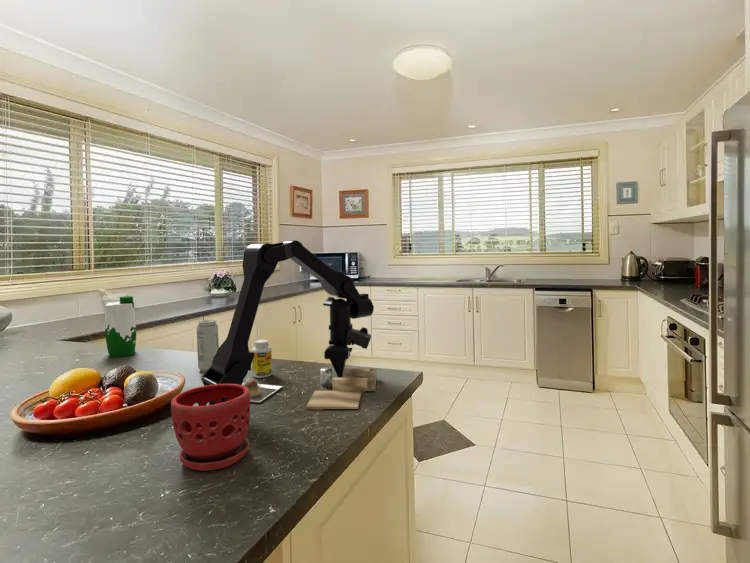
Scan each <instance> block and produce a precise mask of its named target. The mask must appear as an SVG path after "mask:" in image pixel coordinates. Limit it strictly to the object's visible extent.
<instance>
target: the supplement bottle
mask: <svg viewBox="0 0 750 563" xmlns="http://www.w3.org/2000/svg"><path fill="white" fill-rule="evenodd" d="M253 342H254V347H252V348H251V352H253V353H255V355H254V358H253V361H252V363H251V374H252V375H251V376H252V377H254V378H259V379H261V378H269V377H270V376H271V375H272V374H273V363H272V362H273V361H272V360H273V359H272V358H273V357H272V355H273V354H272V347H271V346H269V345H270V344H269V340H268V339H257V340H254V341H253Z"/></svg>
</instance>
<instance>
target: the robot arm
mask: <svg viewBox="0 0 750 563" xmlns="http://www.w3.org/2000/svg"><path fill="white" fill-rule="evenodd" d="M289 259H290V260H292V261H293V262H294V263H295V264H297V265H298V266H300V267H301V268H302V269H303V270H304V271H305V272H307V273H308V274H309V275H311V276H313V277H314V278H315V279H317V281H318V282H319V283H320V285H321V288H322V289H323V290H324V291H325V292H326V293H327V294H328V295H330V296H328V297H327V299H326V300H325V301H324V302H322V306H324V307H325V306H327V307H329V325H328V330H329V340H328V346H327V347H326V349H325V350H324V352H323V353H324V355H323V356H324V359H325V360H329V361H330V363H331V365H332V367H333V369H334V371H335V373H336V377H337V376H338V377H342V376H343V370H344V368H345V367H346V362H347V360H348V359H349V358H350V357H351V352H352V351H353V347H349V346H354V345H356V346H359V347H361V348H362V349H365V350H367V349H368V347H369V344H370V341H371V339H372V335H371V334H370V333H369V332H368V331H369V330H368V328H367V327H364V326H362V327H361V328H360V329H355V328H354V327H353V323H352V322H351V319H352V320H354V319H355V320H356V319H360V318H368V317H371V316H372V315H373V314H374V311H375V310H374V308H375V307H374V304H373V302H372V300H371V299H370V298H369V297H370V296H369V293H359V290H358V289H357V287H356V286H355V282H354V279H353V278H352V277H350V276H349V275H346V274H345V273H343V272H340V271H337V270H335V269H333V268H331V267H330V266H329V265H327V264H326V263H325V262H324V261H323V260H321V259H320V258H319V257H317V255H315V254H314V253H312V252H311V251H310V250H309V249H308V248H307V247H305V246H304V245H303V243H301V242H300V241H299V240H295V239H294V240H285V241H282V242H277V243H276V242H275V243H269V242H268V243H264V242H263V243H261V242H260V243H259V242H258V243H257V242H256V243H251V244H250V245H247V246H246V247H245V250H244V251H243V259H242V271H243V281H242V284H241V288H240V291H239V292H240V293H239V295H238V299H237V303H236V306H235V310H234V312H233V316H232V320H231V324H230V327H229V328H228V329H229V331H228V333H227V337H226V339H225V340H224V341H223V343H222V344H221V345H219V348H218V350H217V352H216V355H215V357H214V359H213V361H212V365H211V367H210V368H209V369H208V370H207V371H206V372H204V374H203V375H202V376H201V377H200V380H201V382H202V385H203V386H207V385H214V384H239V385H242V383H244V379H246V377H247V375H248V373H249V372H252V361H253V358H254V355H255V353H253V352H252V350H251V351H250V349H249V341H250V337H251V334H252V330H253V327H254V322H255V320H256V316H257V312H258V308H259V306H260V301H261V298H262V294H263V291H264V287H265V284H266V282H267V281H269V279H270V277H271V276H272V275H273V274H274V272H275V270H276V268H277V266H278V264H279V263H280V262H284V261H287V260H289ZM335 297H336V298H335ZM221 401H222V403H223V402H226V401H228V400H227V398H226V397H223V398H221ZM214 404H216V403H215V402H213V401H211V402H208V405H214Z"/></svg>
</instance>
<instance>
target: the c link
mask: <svg viewBox="0 0 750 563" xmlns="http://www.w3.org/2000/svg"><path fill="white" fill-rule="evenodd" d="M376 387H377V368H352V367H351V368H349V367H347V368H344V370H343V376H342V377H338V376H337V375H336V377H335V376H334V377H332V391H361V392H366V391H375V392H376Z"/></svg>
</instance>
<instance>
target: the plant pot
mask: <svg viewBox="0 0 750 563" xmlns="http://www.w3.org/2000/svg"><path fill="white" fill-rule="evenodd" d="M223 397H226V398H227V400H228V401H226V402H223V403H222V401H221V398H223ZM211 401H213V402H215V403H216V404H214V405H209V402H211ZM250 401H251V397H250V391H249V389H248V388H247V387H245V386H243V385H239V384H214V385H207V386H204V385H202V386H198V387H193V388H191V389H187V390H185V391H183V392H181V393H178V394H177V395H175V396H174V397H173V398H172V399H171V401H170V410H171V411H170V412H171V413H170V414H171V420H172V427H173V431H174V434H175V437H176V438H175V439H176V441H177V442H178V445H179V446H180V448H181V449H182V450H181V452H180V453H179V460H180V462H181V463H182V464H183V465H184V466H185V467H187V468H189V469H192V470H194V471H213V470H214V471H215V470H220V469H223V468H227V467H229V466H231V465H233V464H235V463H237V462H239V461H240V460H241V459H242V458H243V457H244V456H246V454H247V452H248V450H249V448H250V441H249V439H248V438H246V436H247V434H248V431H249V427H250V421H251V402H250ZM195 404H197V405H198V406H197V405H196V406H194V405H195ZM207 404H208V405H207Z"/></svg>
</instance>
